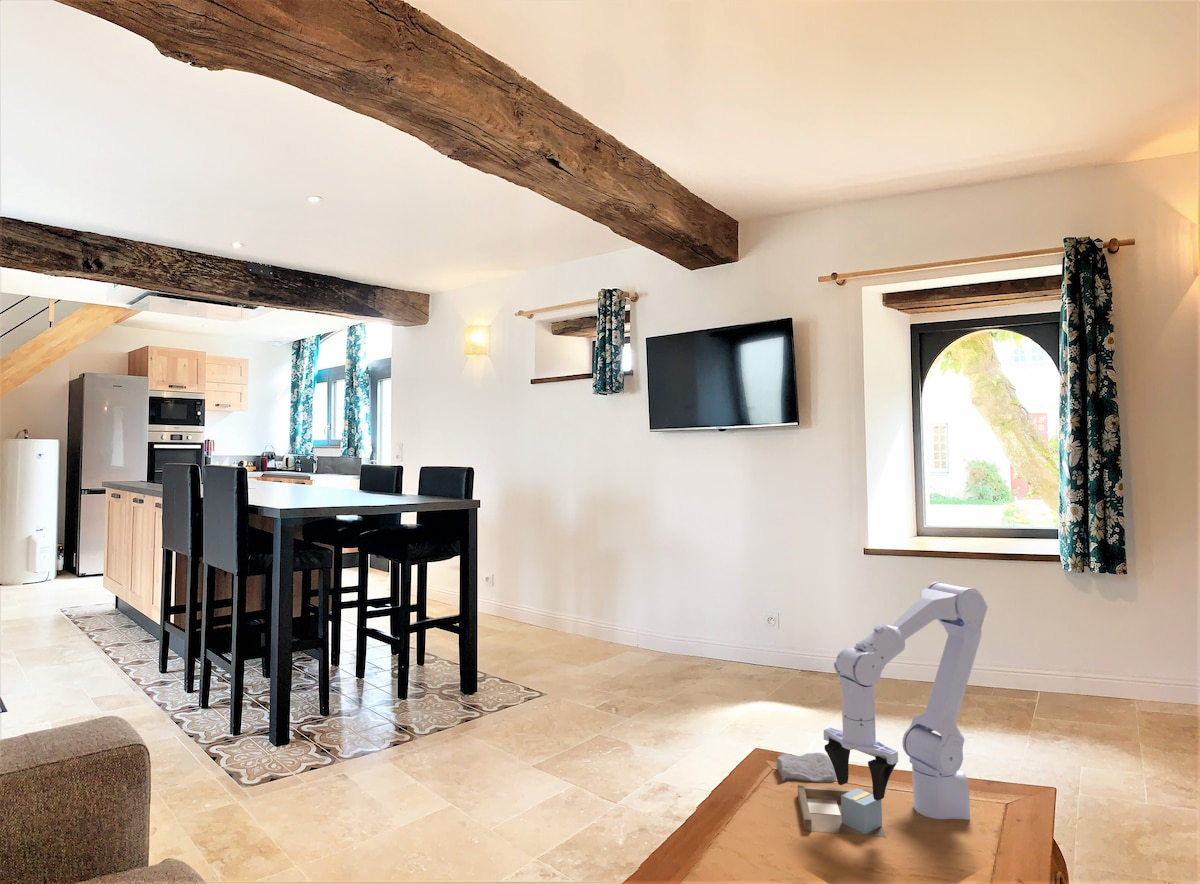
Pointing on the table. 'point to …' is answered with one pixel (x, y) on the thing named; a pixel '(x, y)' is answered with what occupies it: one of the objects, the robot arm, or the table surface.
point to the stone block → (806, 767)
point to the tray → (827, 811)
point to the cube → (861, 811)
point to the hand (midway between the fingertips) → (860, 790)
